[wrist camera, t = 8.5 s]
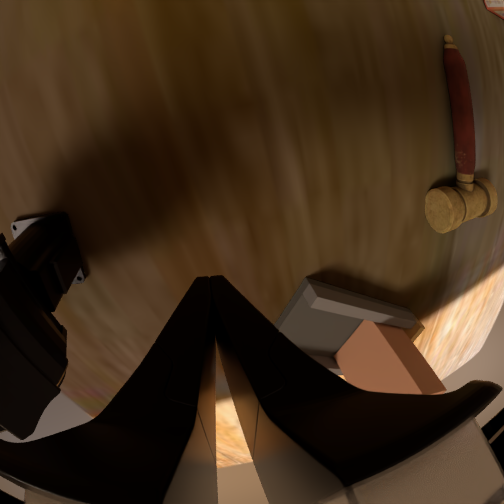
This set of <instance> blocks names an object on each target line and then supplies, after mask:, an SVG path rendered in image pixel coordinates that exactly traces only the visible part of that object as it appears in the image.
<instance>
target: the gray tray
mask: <svg viewBox="0 0 504 504" xmlns="http://www.w3.org/2000/svg"><path fill="white" fill-rule="evenodd" d="M363 320H369V321H373V322H378V323H383V324H388V325H393V326H398V327H401V328H402V329H403V331H404V332H405V333H406V334H407V336H408V337H409V338H410V340H411V341H412V342H414V341H415V340H416V338H417V337H418V336H419V335H420V334H421V332H422V331H423V330H424V329H425V327H424V326H423V325H422V324H421V322H420V321H419V320H418V319H417V318H416V316H415V315H414V314H413V313H412V312H411V311H410V309H408V308H404V307H401V306H398V305H394V304H391V303H388V302H384V301H381V300H378V299H375V298H371V297H368V296H365V295H362V294H358V293H355V292H352V291H349V290H345V289H342V288H339V287H336V286H332V285H329V284H326V283H323V282H320V281H316V280H313V279H310V278H307V277H305V279H304V280H303V282H302V283H301V285H300V286H299V288H298V290H297V291H296V293H295V294H294V296H293V297H292V299H291V300H290V302H289V303H288V305H287V306H286V308H285V310H284V311H283V313H282V314H281V316H280V317H279V319H278V320H277V321H276V323H275V324H274V326H275V327H276V328H277V329H279V331H280V332H282V333H283V334H284V335H285V336H286V337H287V338H288V339H289V340H291V341H292V342H293V343H294V344H295V345H296V346H297V347H299V348H300V349H301V350H302V351H304V352H305V353H306V354H308V355H309V356H310V357H312V358H313V359H314V360H316V361H317V362H319V363H320V364H322V365H323V366H325V367H326V368H327V369H329V370H330V371H332V372H333V373H335V374H336V375H343V373H342V371H341V369H340V367H339V365H338V363H337V361H336V360H335V358H334V355H335V354H336V353H337V352H338V351H339V349H340V348H341V347H342V346H343V345H344V344H345V342H346V341H347V340H348V339H349V338H350V337H351V335H352V334H353V333H354V332H355V330H356V329H357V328H358V327H359V325H360V324H361V323H362V322H363Z"/></svg>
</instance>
